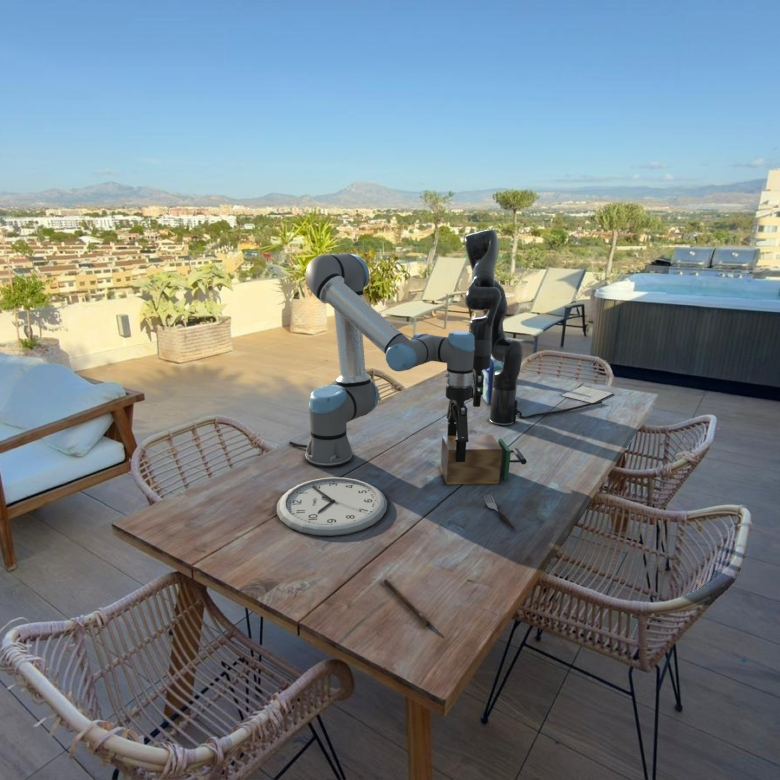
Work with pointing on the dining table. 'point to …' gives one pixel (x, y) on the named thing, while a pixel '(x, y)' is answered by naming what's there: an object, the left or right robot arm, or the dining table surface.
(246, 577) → the dining table surface
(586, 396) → the invitation card
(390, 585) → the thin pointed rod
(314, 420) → the left robot arm
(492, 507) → the fork
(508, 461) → the drawer
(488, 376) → the lunch box
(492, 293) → the right robot arm
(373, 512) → the wall clock
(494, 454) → the open wooden box
